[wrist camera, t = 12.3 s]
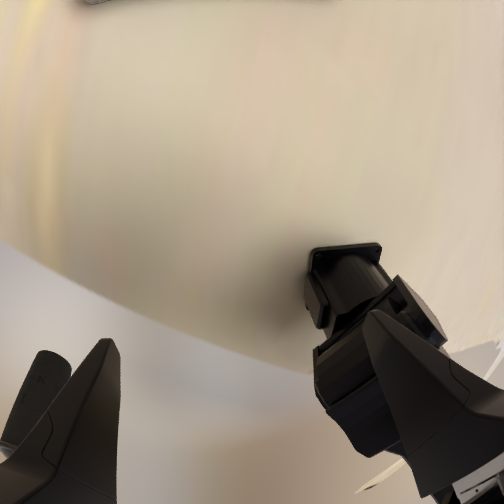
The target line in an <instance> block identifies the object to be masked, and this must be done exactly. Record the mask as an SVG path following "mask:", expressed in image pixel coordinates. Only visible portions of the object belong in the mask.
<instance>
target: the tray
mask: <svg viewBox="0 0 504 504" xmlns="http://www.w3.org/2000/svg"><path fill="white" fill-rule="evenodd" d="M84 1H86V2H88V3H90V4H92V5H94V4H98V3H101V2H105V1H109V0H84Z"/></svg>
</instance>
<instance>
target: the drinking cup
mask: <svg viewBox="0 0 504 504" xmlns="http://www.w3.org/2000/svg"><path fill="white" fill-rule="evenodd" d="M71 371H72V368H71V366H70V364H69V363H68V361H67V360H66V359H64V358H63V357H61V356H60V355H58V354H56V353H54V352H51V351H47V350H42V351H39V352H38V354H37V355H36V357H35V359H34V361H33V363H32V365H31V368H30V370H29V372H28V374H27V376H26V378H25V380H24V382H23V385H22V387H21V389H20V391H19V394H18V396H17V398H16V401H15V403H14V405H13V408H12V410H11V413H10V415H9V418H8V420H7V423H6V426H5V429H4V431H3V434H2V437H1V439H0V451H1V452H2V453H3V454H4V456H5V457H6V458H7V459H8V458H9V456H10V455H11V454H12V453H13V452H14V451H15V449H16V448H17V447H18V446H19V445H20V444H21V442H22V441H23V440H24V439H25V438H26V436H27V435H28V434H29V433H30V432H31V430H32V429H33V428H34V427H35V425H36V424H37V423H38V421H39V420H40V419H41V417H42V416H43V414H44V413H45V412H46V410H48V407H49V406H50V405H51V403H52V402H53V400H54V399H55V398H56V396H57V395H58V394H59V392H60V391H61V390H62V388H63V387H64V385H65V384H66V383H67V381H68V380H69V379H70V377H71Z"/></svg>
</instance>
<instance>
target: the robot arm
mask: <svg viewBox="0 0 504 504" xmlns="http://www.w3.org/2000/svg"><path fill="white" fill-rule="evenodd" d="M376 248H377V249H376ZM375 249H376V250H375ZM381 252H382V247H381V246H380V244H378V243H371V244H360V245H348V246H337V247H326V248H317V249H314V250H313V251H312V253H311V261H310V269H309V272H308V273H307V274H306V280H305V288H304V299H305V306H306V309H307V310H309V311H310V314H311V316H312V319H313V321H314V324H315V326H316V328H317V329H323V330H324V333H325V335H326V338H327V340H326V341H325V342H324V343H322V344H321V345H320V346H317V347H316V348H314V349H313V367H314V387H315V394H316V397H317V398H318V399H319V401H320V403H321V404H322V406H323V407H324V408H325V409H326V413H327V414H328V415H329V416H330V417H331V418H332V419H333V420H335V421H336V422H337V424H338V425H339V426H340V427H341V428H342V429H343V431H344V432H345V434H346V435H347V437H348V438H349V440H350V442H351V443H352V445H353V447H354V448H355V450H356V451H357V452H359V453H361V454H362V455H364V456H366V457H368V458H371V457H373V456H375V455H377V454H378V453H380V452H382V451H387V452H390V453H393V454H397V455H400V456H402V457H403V459H404V460H405V461H406V462H407V464H408V465H409V466H410V468H411V469H412V472H413V475H414V478H415V481H416V484H417V487H418V491H419V494H420V497H421V498H424V497H426V496H428V495H431V496H432V497H433V499H434V500H435V501H436V503H437V504H504V390H502V389H499V388H497V387H495V386H494V385H492V384H490V383H488V382H487V381H485V380H483V379H482V378H480V377H478V376H476V375H475V374H473V373H471V372H470V371H468V370H467V369H465V368H463V367H462V366H461V365H459V364H457V363H456V362H455V361H453V360H452V359H451V358H450V356H449V355H448V353H447V352H446V351H445V349H444V348H443V346H442V345H443V344H444V343H445V342H447V341H448V339H447V337H446V335H445V333H444V331H443V329H442V327H441V325H440V323H439V321H438V319H437V318H436V316H435V315H434V314H433V312H432V311H431V310H430V309H429V307H428V306H427V305H426V303H425V302H424V301H423V300H422V299H421V297H420V296H419V295H418V294H417V293H416V292H415V291H414V290H413V289H412V288H411V287H410V286H409V285H408V284H407V283H406V282H405V281H404V280H403V279H402V278H401V277H400V276H399V275H397V276H396V277H395V278H394V279H393V281H392V280H391V278H390V277H389V276H388V274H387V273H386V272H385V270H384V269H383V268H382V267H381V265H380V264H379V260H380V256H381ZM319 253H320V254H319ZM317 254H319V255H318V256H316V255H317ZM120 393H121V391H120V354H119V351H118V349H117V348H116V345H115V343H114V341H113V340H112V339H111V338H102V339H100V340H99V341H98V343H97V344H96V345H95V346H94V348H93V349H92V350H91V352H90V353H89V354H88V355H87V357H86V358H85V359H84V361H83V362H82V363H81V365H80V366H79V367H78V368H77V370H76V371H75V372H74V374H73V375H72V376H71V377H70V379H69V380H68V381H67V383H66V384H65V385H64V387H63V388H62V390H61V391H60V392H59V394H58V395H57V396H56V398H55V399H54V400H53V402H52V403H51V405H50V406H49V407H48V410H46V412H45V413H44V414H43V416H42V417H41V419H40V420H39V421H38V423H37V424H36V425H35V427H34V428H33V429H32V430H31V432H30V433H29V434H28V435H27V436H26V438H25V439H24V440H23V441H22V442H21V444H20V445H19V446H18V447H17V448H16V449H15V451H14V452H13V453H12V454H11V455H10V456H9V458H8V459H6V460H5V461H4V462H2V463H1V464H0V504H117V500H116V499H117V496H116V470H117V468H116V467H117V440H118V439H117V438H118V424H119V411H120V396H121V395H120Z"/></svg>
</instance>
